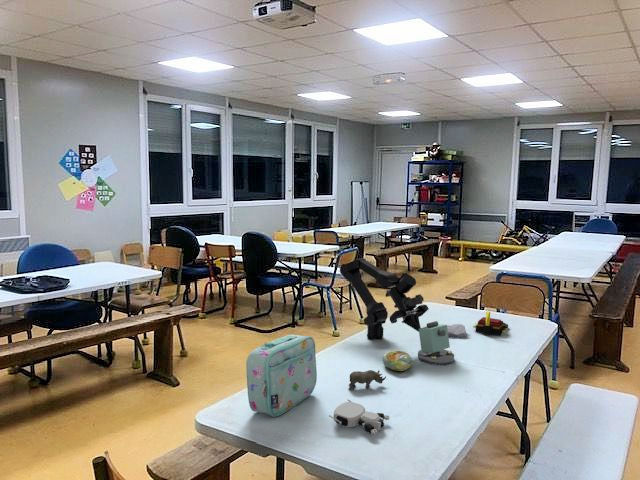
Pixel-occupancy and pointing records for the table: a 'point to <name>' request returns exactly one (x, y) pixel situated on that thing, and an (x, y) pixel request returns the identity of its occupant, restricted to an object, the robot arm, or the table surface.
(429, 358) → the dark grey disc
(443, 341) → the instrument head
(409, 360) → the cell model
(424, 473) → the table surface
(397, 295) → the robot arm
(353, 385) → the rhino figurine
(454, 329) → the stone block
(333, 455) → the table surface
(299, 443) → the table surface
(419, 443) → the table surface
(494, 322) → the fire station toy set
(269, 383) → the lunch box
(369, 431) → the robot toy
